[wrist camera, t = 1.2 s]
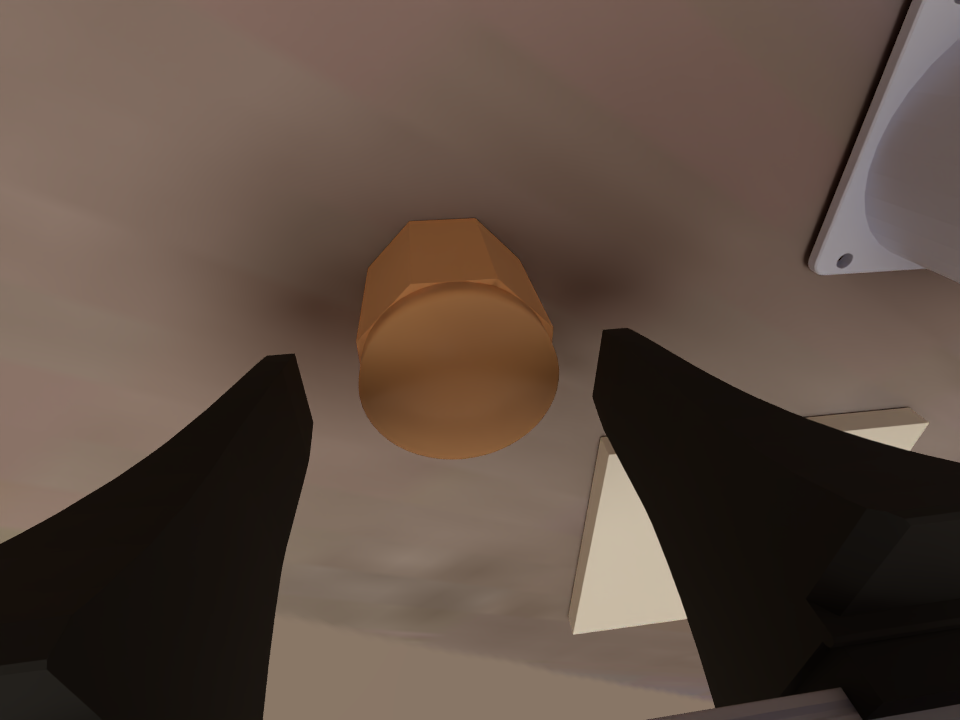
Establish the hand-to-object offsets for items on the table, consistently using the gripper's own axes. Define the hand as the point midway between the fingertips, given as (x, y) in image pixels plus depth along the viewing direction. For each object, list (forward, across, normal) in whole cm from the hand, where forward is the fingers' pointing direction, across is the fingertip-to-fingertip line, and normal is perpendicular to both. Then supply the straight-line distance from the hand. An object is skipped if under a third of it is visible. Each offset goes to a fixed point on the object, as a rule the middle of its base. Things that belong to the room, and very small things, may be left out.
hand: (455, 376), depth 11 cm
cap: (+4, 0, 0) cm, 5 cm away
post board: (+4, -13, +14) cm, 20 cm away
